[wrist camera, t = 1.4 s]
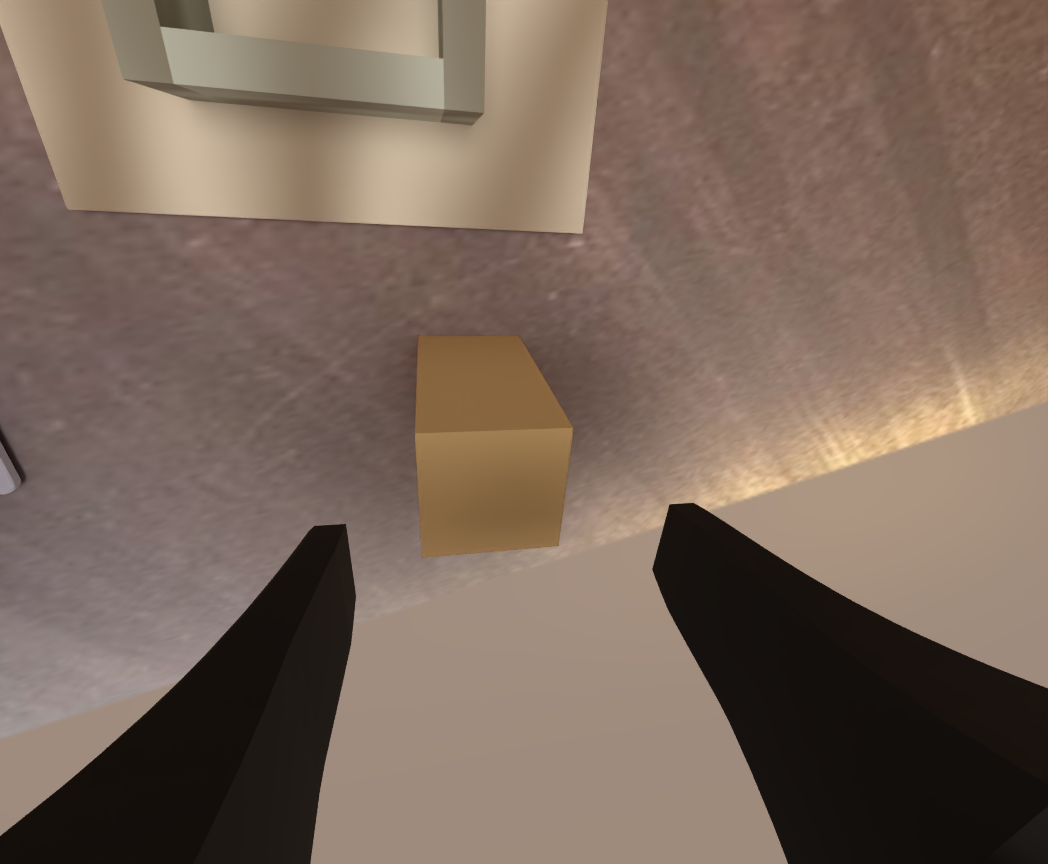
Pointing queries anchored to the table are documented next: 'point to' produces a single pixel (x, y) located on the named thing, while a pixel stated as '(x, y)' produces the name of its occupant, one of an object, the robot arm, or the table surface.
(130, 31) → the socket stand
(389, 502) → the table surface
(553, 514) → the peg
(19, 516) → the table surface
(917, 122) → the table surface
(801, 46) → the table surface
